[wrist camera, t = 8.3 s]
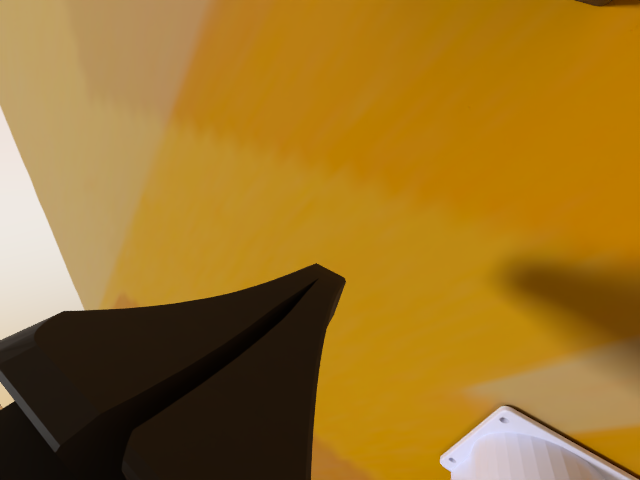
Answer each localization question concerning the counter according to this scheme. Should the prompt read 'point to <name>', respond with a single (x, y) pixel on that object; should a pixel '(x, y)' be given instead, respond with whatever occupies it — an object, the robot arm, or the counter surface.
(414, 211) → the counter surface
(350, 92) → the counter surface
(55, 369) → the robot arm
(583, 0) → the door stopper
